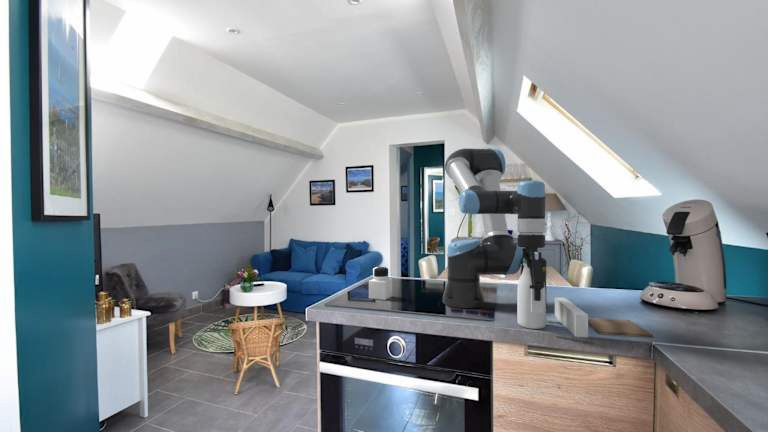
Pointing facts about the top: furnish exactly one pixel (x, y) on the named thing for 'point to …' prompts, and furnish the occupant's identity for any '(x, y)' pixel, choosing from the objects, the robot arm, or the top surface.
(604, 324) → the walnut pad
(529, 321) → the milk bottle
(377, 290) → the medicine bottle
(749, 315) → the top surface
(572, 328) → the low wall
